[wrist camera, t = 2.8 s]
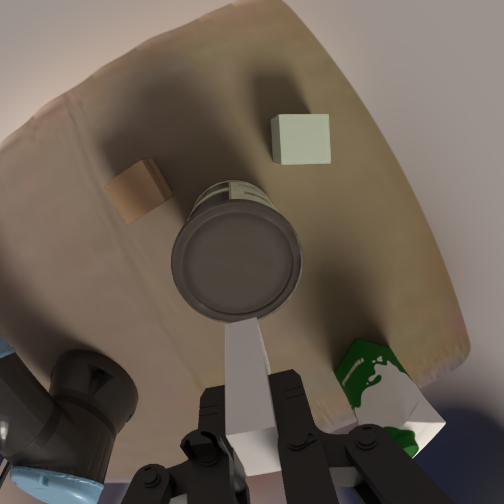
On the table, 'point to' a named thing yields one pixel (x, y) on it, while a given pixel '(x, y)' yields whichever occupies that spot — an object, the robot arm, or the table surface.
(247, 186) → the coffee can
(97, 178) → the table surface
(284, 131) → the sage block
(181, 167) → the table surface
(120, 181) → the brown wooden cube
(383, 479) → the robot arm
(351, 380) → the milk carton
